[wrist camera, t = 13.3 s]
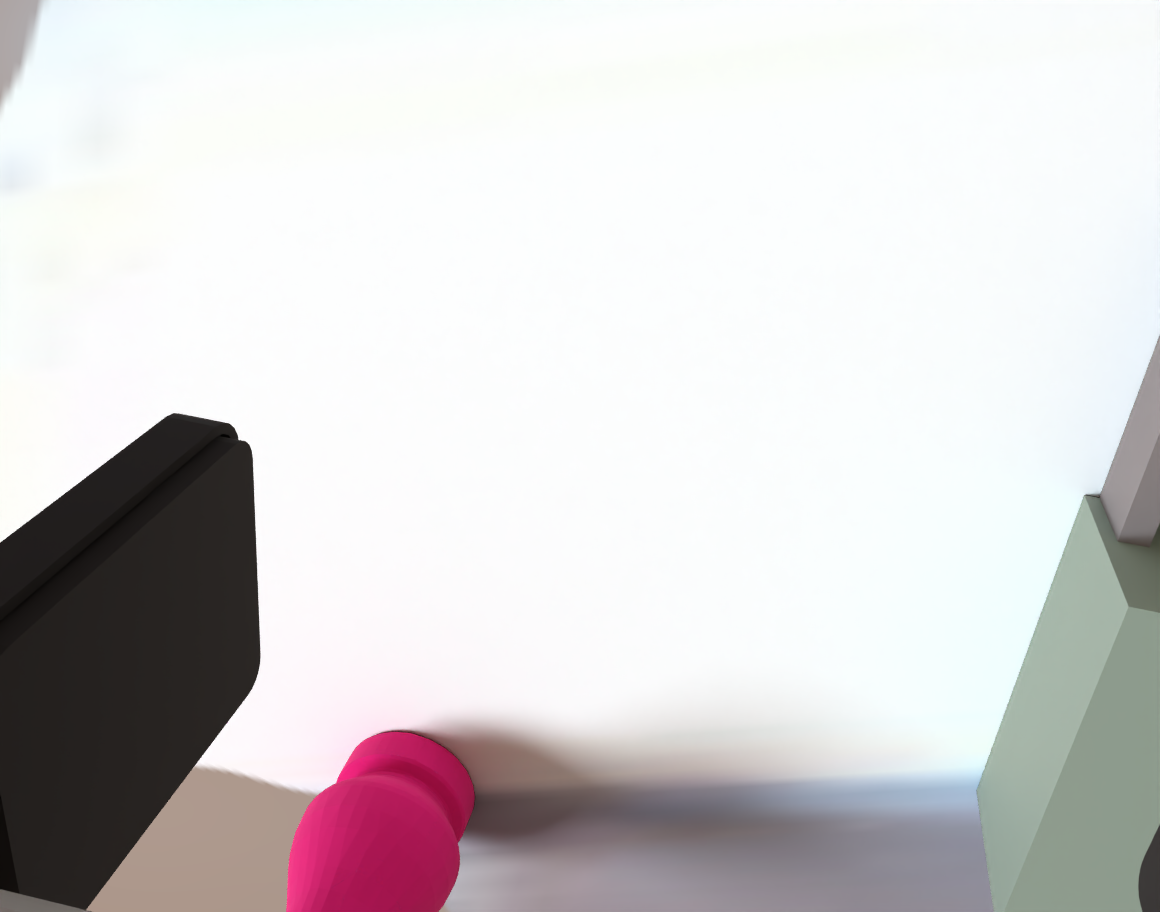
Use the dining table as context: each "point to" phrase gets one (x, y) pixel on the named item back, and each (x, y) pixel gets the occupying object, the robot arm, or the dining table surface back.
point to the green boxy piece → (1087, 704)
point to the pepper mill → (383, 831)
